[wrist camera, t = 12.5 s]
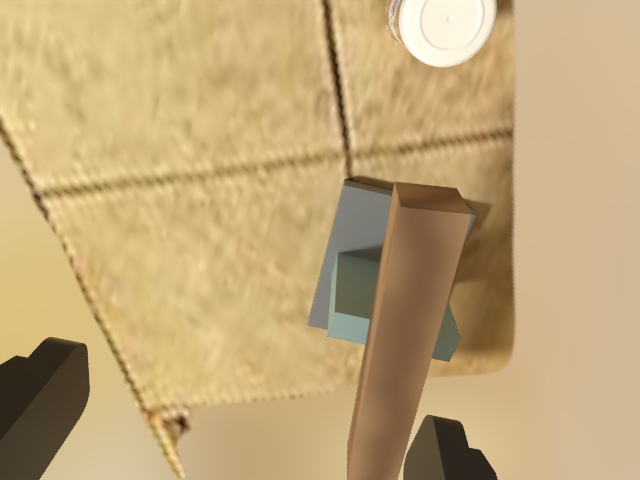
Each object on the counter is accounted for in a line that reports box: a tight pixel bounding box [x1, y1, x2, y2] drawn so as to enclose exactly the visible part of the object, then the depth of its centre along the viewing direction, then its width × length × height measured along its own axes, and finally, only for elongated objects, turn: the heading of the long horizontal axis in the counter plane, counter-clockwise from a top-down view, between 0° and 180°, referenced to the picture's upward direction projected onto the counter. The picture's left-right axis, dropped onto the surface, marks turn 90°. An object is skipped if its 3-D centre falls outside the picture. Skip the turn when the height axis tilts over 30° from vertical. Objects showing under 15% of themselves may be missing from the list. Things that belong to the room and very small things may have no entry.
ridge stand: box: [308, 180, 477, 362], centre depth 39 cm, size 12×16×10 cm
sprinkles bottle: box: [385, 0, 497, 67], centre depth 27 cm, size 5×5×13 cm
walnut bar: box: [347, 182, 472, 480], centre depth 32 cm, size 4×26×4 cm, turn 175°
